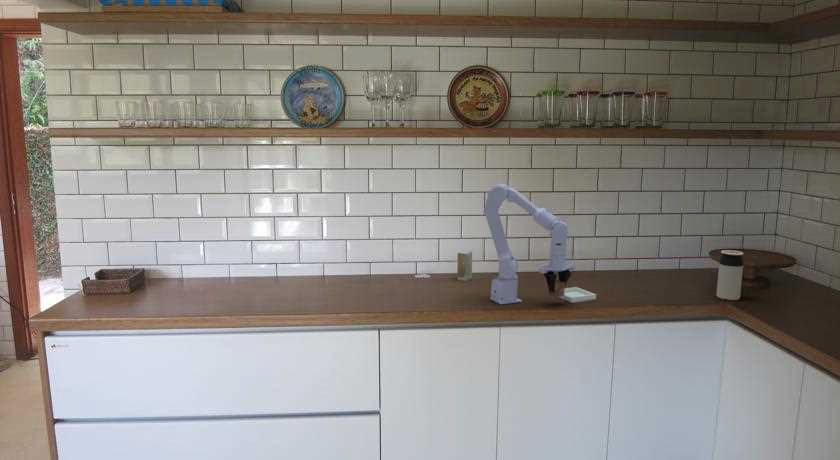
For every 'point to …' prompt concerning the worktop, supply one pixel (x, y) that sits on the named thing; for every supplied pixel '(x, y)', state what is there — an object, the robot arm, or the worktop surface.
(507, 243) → the robot arm
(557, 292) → the walnut block
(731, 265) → the travel mug
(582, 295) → the tray
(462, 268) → the skincare box
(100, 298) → the worktop surface
